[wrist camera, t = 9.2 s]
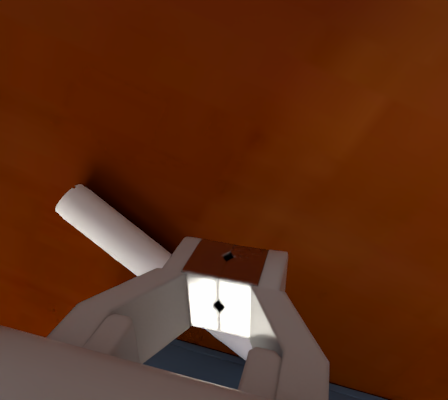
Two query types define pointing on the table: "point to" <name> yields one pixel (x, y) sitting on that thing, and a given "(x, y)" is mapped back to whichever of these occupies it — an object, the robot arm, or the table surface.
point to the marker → (125, 243)
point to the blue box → (223, 368)
